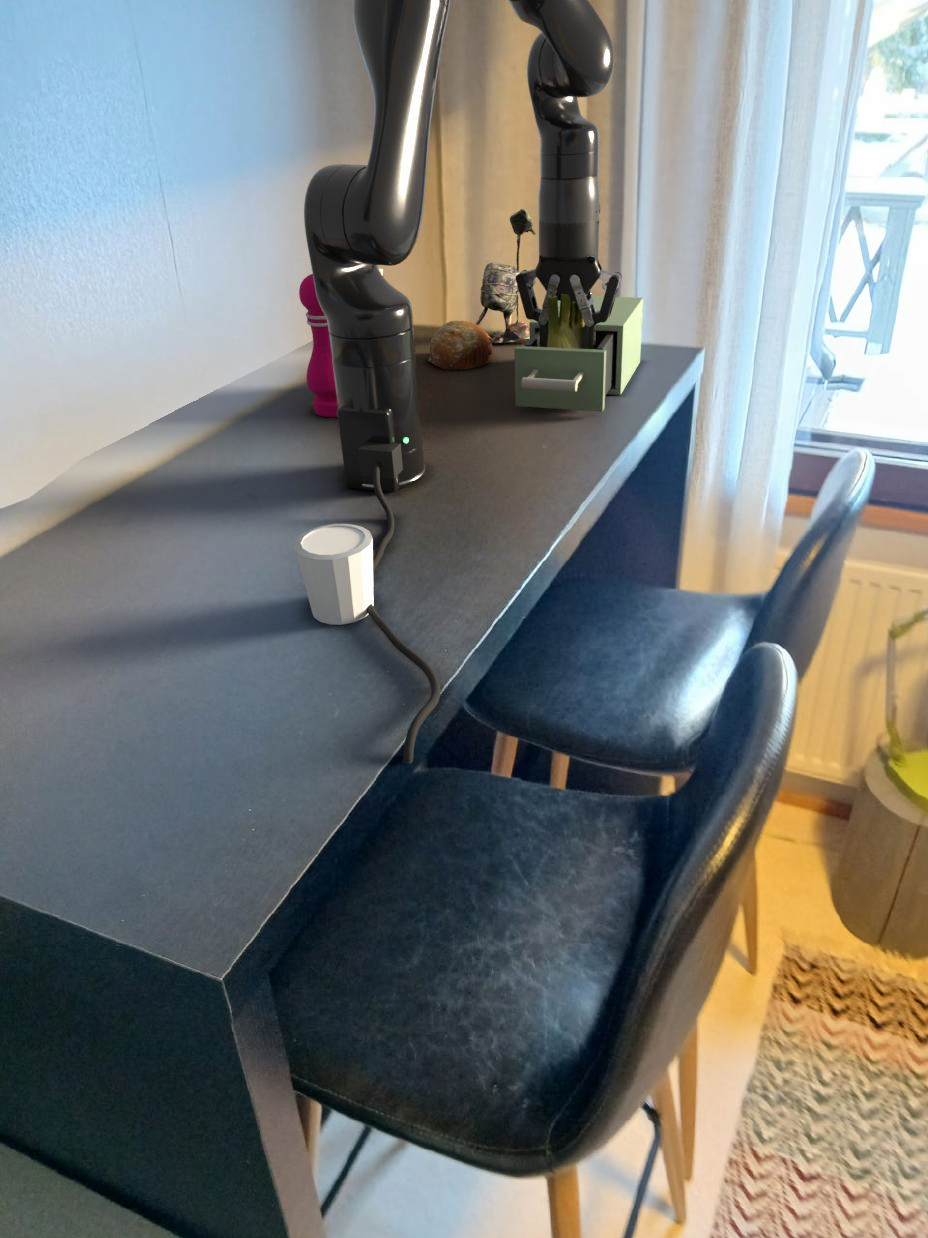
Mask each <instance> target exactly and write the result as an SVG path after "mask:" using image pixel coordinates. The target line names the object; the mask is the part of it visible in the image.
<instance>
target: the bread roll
mask: <svg viewBox="0 0 928 1238" xmlns="http://www.w3.org/2000/svg"><path fill="white" fill-rule="evenodd" d="M493 343H494V342H493V339H492V336H490V335H489V334H488V333H487V332H486V331H485V330H484V328H482V327H481V326H480V325H476V323H474V322H471V321H467V320H465V321H464V320H450V321H448V322H446V323H444V324H442V325H441V326H440V327H439V328H438V329H437V330H436V331H435V332H434V333H433V336H432V338H431V339H430V347H429V351H430V354H429V358H428V362H429V363H431V364H433V365H434V366H436V367H439V368H440V369H443V370H445V371H446V370H447V371H461V370H470V369H474V368H478V367H482V366H484V365H486V364H488V363H490V362H491V360H492V357H493V354H494V348H493Z"/></svg>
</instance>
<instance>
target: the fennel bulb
mask: <svg viewBox="0 0 928 1238" xmlns="http://www.w3.org/2000/svg"><path fill="white" fill-rule="evenodd" d="M581 300H582V299H581ZM548 313H549V328H548V342H547V347H551V348H573V349H582V340H583V326H584V325H585V323H584V320H583V316H582V313H581V311H580V310H579V307H578V304H577V301H571V300H570V296H569V295H567V294H561V300H560V311H559V312H558V298H557V296H553V297H552V295H550V296H548Z"/></svg>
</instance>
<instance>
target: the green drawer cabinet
mask: <svg viewBox="0 0 928 1238" xmlns="http://www.w3.org/2000/svg"><path fill="white" fill-rule="evenodd" d="M592 296H593V300H594V307H595V310H596V312H598V311H600V309H601V305H602V302H603V299H604V296H599V295H597V296H595V295H592ZM643 310H644V298H643V297H634V296H633V297H632V296H631V297H629V296H616V299H615V302H614V305H613V309H612V312H611V315H610V317H609V318H608V319H607V320H606V322H603V323H602V322H600V323H598V324H596V331H618V332H617V357H616V380H615V381H614V383H613V385H612V386H611V388H610V389H609V391H608V393H607V394H606V395H611V396H621V395H622V394H623V392H624V390H625V389H626V387H627V385H628V383H629V381H630V380H631V378H632V376H633V375H634V373H635V371H636V369H637V368H638V366H639V365H640V363H641V350H642V331H643ZM559 311H560V301H558V312H559ZM528 327H530V328H529V335H530V339H531V338H532V337H533V336H534V335H535V334H536V333H537V332H538V331H539V330H540V326H539V323H538V322H537V321H535V320H532V319H531V320H529V325H528ZM530 339H529V340H530Z"/></svg>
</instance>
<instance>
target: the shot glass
mask: <svg viewBox="0 0 928 1238" xmlns="http://www.w3.org/2000/svg"><path fill="white" fill-rule="evenodd" d="M293 547H294V550H295V554H296V559H297V561H298V566H299V569H300V572H301V576H302V581H303V584H304V588H305V591H306V595H307V598H308V603H309V607H310V610H311V613H312V616H313V618H314V619H315V620H317V621H318V622H320V623H323V624H327V625H335V626H336V625H339V626H340V625H341V626H342V625H347V624H352V623H356V622H359V621H360V620H362V619H366V617H367V616H368V615H369V613H368V612H367V608H368V606H369V605H370V604H372V605H373V607H374V606H375V603H374V602H375V601H374V600H375V599H374V572H373V557H374V549H373V548H374V539H373V536H372V533H371V531H370V530H368V529H367V528H365V527H363V526H361V525H356V524H350V523H331V524H326V525H325V524H324V525H320V526H317V527H314V528H311V529H309V530H307V531H305V532H304V533H302V534H300V535H299V536H297V538H296V539H295V541H294V544H293Z"/></svg>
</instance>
